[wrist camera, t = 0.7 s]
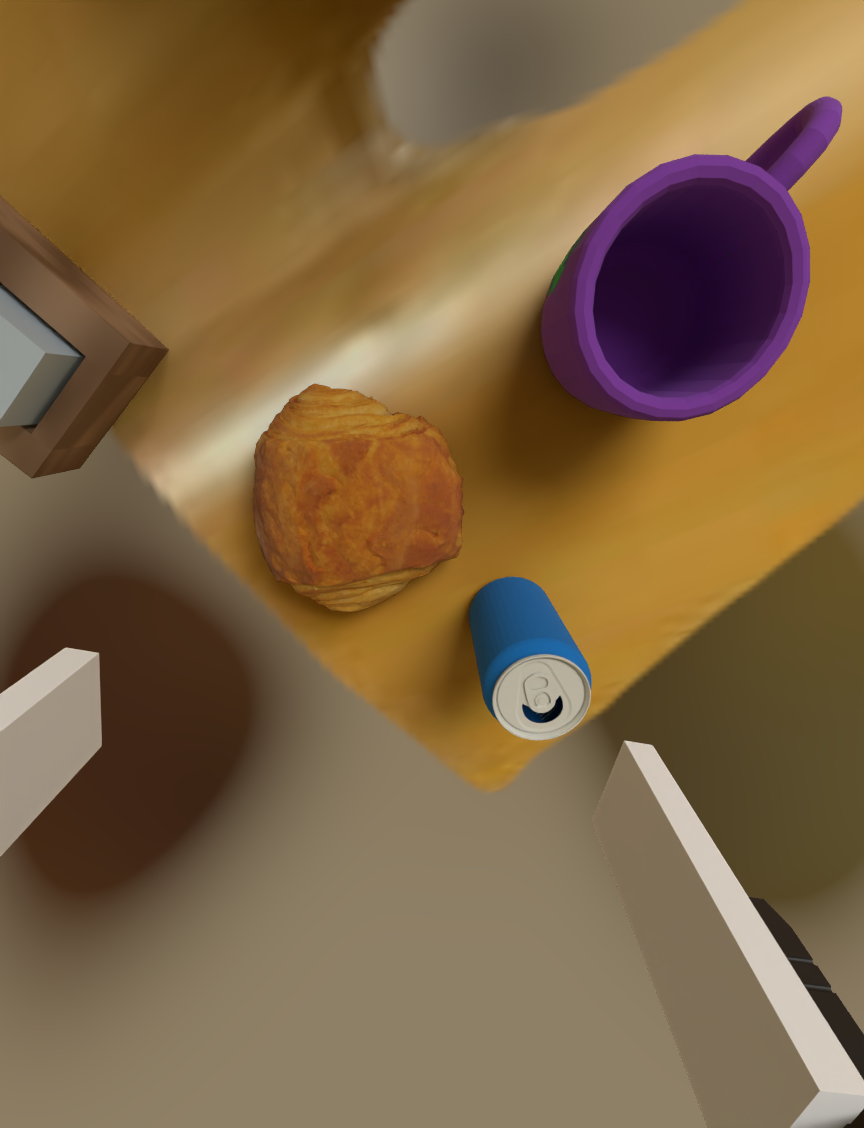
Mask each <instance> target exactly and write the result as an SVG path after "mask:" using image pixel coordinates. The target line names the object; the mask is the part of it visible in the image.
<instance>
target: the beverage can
mask: <svg viewBox="0 0 864 1128" xmlns="http://www.w3.org/2000/svg"><path fill="white" fill-rule="evenodd" d="M469 623H470V628H471V633H472V639H473V644H474V650H475V655H476V660H477V666H478V671H479V676H480V682H481V687H482V692H483V698H484V701H485V704H486V706H487V708H488V709H489V711H490V712H491V714H492V715H493V716H494V717H495V718H496V719H497V720H498V721H499V722H500V724H501V725H502V726H503V727H504V728H505V729H506V730H508V731H509V732H510V733H512V734H514V735H516V736H518V737H521V738H524V739H529V740H547V739H552V738H555V737H558V736H561V735H563V734H565V733H567V732H568V731H570V730H571V729H573V728H574V727H575V726H576V725H577V724H578V723H579V722H580V721H581V720H582V719H583V717H584V716H585V714H586V712H587V710H588V708H589V705H590V700H591V673H590V669H589V667H588V664H587V662H586V660H585V659H584V657H583V655H582V654H581V652H580V650H579V649H578V647H577V645H576V644H575V642H574V640H573V639H572V637H571V635H570V634H569V632H568V630H567V629H566V627H565V625H564V624H563V622H562V620H561V619H560V617H559V615H558V614H557V612H556V610H555V609H554V607H553V605H552V604H551V602H550V600H549V598H548V597H547V595H546V594H545V592H544V591H543V590H542V589H541V588H540V587H539V586H538V585H537V584H535V583H534V582H532V581H530V580H527V579H524V578H520V577H505V578H500V579H497V580H494V581H492V582H490V583H489V584H487V585H485V586H484V587H483V588H482V589H481V590H480V591H479V592H478V593H477V594H476V596H475V597H474V599H473V601H472V603H471V606H470V610H469Z"/></svg>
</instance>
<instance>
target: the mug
mask: <svg viewBox="0 0 864 1128" xmlns="http://www.w3.org/2000/svg"><path fill="white" fill-rule="evenodd" d="M841 116H842V105H841V103H840V102H839V101H838V100H836V99H834V98H831V97H822V98H819V99H817V100H815V101H813V102H812V103H810V104H808V105H807V106H805V107H804V108H803V109H802V110H800V111H799V112H798V113H797V114H796V115H795V116H793V117H792V118H791V119H790V120H789V121H788V122H787V123H785V124H784V125H783V126H782V127H781V128H780V129H779V130H778V131H777V132H775V133H774V134H773V135H772V136H771V137H770V138H769V139H768V140H767V141H766V142H765V143H764V144H763V145H762V146H761V147H760V148H759V149H757V150H756V151H755V152H754V153H753V154H752V155H751V156H750V157H749V158H748V159H747V160H746V161H743V160H740V159H737V158H734V157H731V156H729V155H696V154H694V155H691V156H688V157H684V158H681V159H677V160H674V161H670V162H667V163H663V164H660V165H659V166H657V167H656V168H654V169H653V170H651V171H649V172H648V173H646V174H645V175H643V176H642V177H640V178H638V179H637V180H635V181H634V182H632V183H631V184H629V185H628V186H626V187H625V188H624V190H623V191H622V192H621V193H620V194H619V195H618V196H617V197H616V198H615V199H614V200H613V201H612V202H611V203H610V204H609V205H608V206H607V207H606V208H605V209H604V211H603V212H602V213H601V214H600V215H599V216H598V217H597V218H596V219H595V220H594V221H593V222H592V223H591V224H590V225H589V227H588V228H587V229H586V230H585V231H584V232H583V233H582V235H581V236H580V237H579V238H578V240H577V241H576V242H575V244H574V245H573V246H572V248H571V249H570V250H569V252H568V254H567V255H566V257H565V259H564V260H563V262H562V264H561V265H560V267H559V269H558V270H557V272H556V274H555V275H554V277H553V279H552V282H551V285H550V288H549V291H548V294H547V297H546V300H545V303H544V306H543V310H542V325H541V337H542V343H543V349H544V355H545V357H546V360H547V362H548V364H549V367H550V369H551V371H552V373H553V375H554V377H555V378H556V379H557V380H558V381H559V383H560V384H561V385H562V386H563V388H564V389H565V390H566V391H567V392H568V393H569V394H571V395H572V396H574V397H575V398H577V399H578V400H580V401H581V402H583V403H585V404H586V405H588V406H589V407H592V408H595V409H599V410H602V411H605V412H609V413H612V414H616V415H620V416H624V417H628V418H633V419H641V420H650V421H684V420H688V419H692V418H696V417H700V416H704V415H708V414H711V413H713V412H715V411H717V410H719V409H721V408H723V407H724V406H726V405H728V404H730V403H732V402H734V401H735V400H737V399H739V398H740V397H741V396H742V395H744V394H745V393H746V392H747V391H748V390H749V389H750V388H752V387H753V386H754V385H755V384H756V383H757V382H759V381H760V380H761V379H762V378H763V377H764V376H765V375H766V374H767V372H768V371H769V370H770V368H771V367H772V366H773V364H774V363H775V362H776V361H777V359H778V358H779V357H780V355H781V354H782V353H783V351H784V350H785V349H786V348H787V346H788V344H789V342H790V340H791V338H792V335H793V333H794V331H795V329H796V327H797V325H798V323H799V321H800V319H801V317H802V314H803V309H804V305H805V301H806V296H807V292H808V288H809V283H810V246H809V242H808V239H807V235H806V231H805V227H804V223H803V219H802V215H801V213H800V211H799V210H798V208H797V206H796V205H795V203H794V201H793V200H792V198H791V196H790V195H789V193H788V190H789V189H790V188H791V187H792V186H793V185H794V184H795V183H796V182H797V181H798V180H799V179H800V178H801V177H802V176H803V175H804V174H805V173H806V171H807V170H808V169H809V168H810V167H811V166H812V165H813V163H814V162H815V161H816V160H817V159H818V158H819V157H820V156H821V154H822V153H823V152H824V151H825V150H826V148H827V146H828V145H829V143H830V142H831V140H832V139H833V137H834V136H835V134H836V133H837V131H838V129H839V127H840V123H841Z"/></svg>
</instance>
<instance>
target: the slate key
mask: <svg viewBox="0 0 864 1128" xmlns="http://www.w3.org/2000/svg"><path fill="white" fill-rule="evenodd" d="M85 357H86V356H85V355H84V354H83V353H81V352H80V351H79V350H78V349H77V348H76V347H74V346H73V345H72V344H71V343H70V342H69V341H68V340H66V339H65V338H64V337H63V336H62V335H61V334H59V333H58V332H57V331H56V330H55V329H54V328H53V327H51V326H50V325H49V324H48V323H47V322H46V321H44V320H43V319H42V318H41V317H40V316H39V315H38V314H36V313H35V312H34V311H33V310H32V309H31V308H29V307H28V306H27V305H26V304H25V303H24V302H23V301H21V300H20V299H19V298H18V297H17V296H16V295H14V294H13V293H12V292H11V291H10V290H9V289H8V288H6V287H5V286H2V285H0V427H5V426H19V425H32V424H39V422H40V421H41V420H42V418H43V417H44V415H45V414H46V413H47V411H48V410H49V408H50V407H51V405H52V404H53V403H54V401H55V400H56V398H57V397H58V395H59V394H60V393H61V391H62V390H63V388H64V387H65V385H66V384H67V383H68V381H69V380H70V378H71V377H72V375H73V374H74V373H75V371H76V370H77V368H78V367H79V365H80V364H81V363H82V361H83V360H84V358H85Z"/></svg>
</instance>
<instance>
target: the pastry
mask: <svg viewBox="0 0 864 1128" xmlns="http://www.w3.org/2000/svg"><path fill="white" fill-rule="evenodd" d="M254 459H255V467H256V469H255V484H254V490H253V511H254V522H255V529H256V535H257V538H258V540H259V544H260V547H261V550H262V553H263V556H264V558H265V560H266V562H267V564H268V566H269V568H270V570H271V572H272V573H273V575H274V577H275V578H276V580H277V581H278V582H279V581H283V582H285V583H286V584H291V586H292V587H293V588H294V589H295V592H296V593H298V594H299V595H303V596H305V597H308V598H310V599H312V600H315V603H317V604H320V605H324V606H326V607H327V608H328V609H329V610H331V611H338V612H352V611H358V610H362V609H366V608H369V607H371V606H373V605H375V604H378V603H381V602H383V601H385V600H387V599H388V598H389V597H391V596H394V595H395V594H397V593H398V592H400V591H401V590H402V589H403V588H405V587H406V585H407V584H408V583H409V581H410V580H412V579H414V578H416V577H420V576H422V575H425V574H429V573H430V572H431V571H432V570H433V569H434V568H435V566H436V565H437V564H438V563H439V562H444V561H447V560H450V559H453V558H456V557H457V556H458V554H459V550H460V549H461V547H462V542H463V540H462V516H463V514H464V510H463V506H462V498H463V493H462V489H461V488H462V483H463V479H462V478H461V477H460V476H459V474H458V473H457V469H456V463H455V461H454V460H453V459H452V457H451V454H450V450H449V447H448V444H447V441H446V440H445V438H444V437H443V435H442V433H441V432H440V430H439V429H438V428H437V427H435V426H432V425H430V424H429V423H428V422H427V421H426V420H425V419H424V418H423V417H422V416H419V417H418V418H414V417H413V416H411V415H407V414H403V413H399V412H397V413H395V414H392V415H391V414H390V413H389V411H388V410H387V408H386V406H385V405H383V404H381V403H379V402H378V401H376V400H373V398H372V397H370V398H367V397H366V396H364V395H363V394H361V393H359V392H358V391H352V390H346V389H331V388H330V387H327V386H323V385H318V384H313V385H311V386H309V387H308V388H307V389H305V390H304V391H302V392H301V393H300V394H299V395H296V396H294V397H292V398H291V399H289V402H288V403H287V404H286V405H285V406H284V408H283V410H282V411H281V412H280V413H278V414H277V415H276V416H275V418H274V420H273V421H272V423H271V424H270V426H269V428H268V430H267V431H265V432H263V434H262V435H261V437H260V439H259V441H258V442H257V444H256V449H255V454H254Z"/></svg>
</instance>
